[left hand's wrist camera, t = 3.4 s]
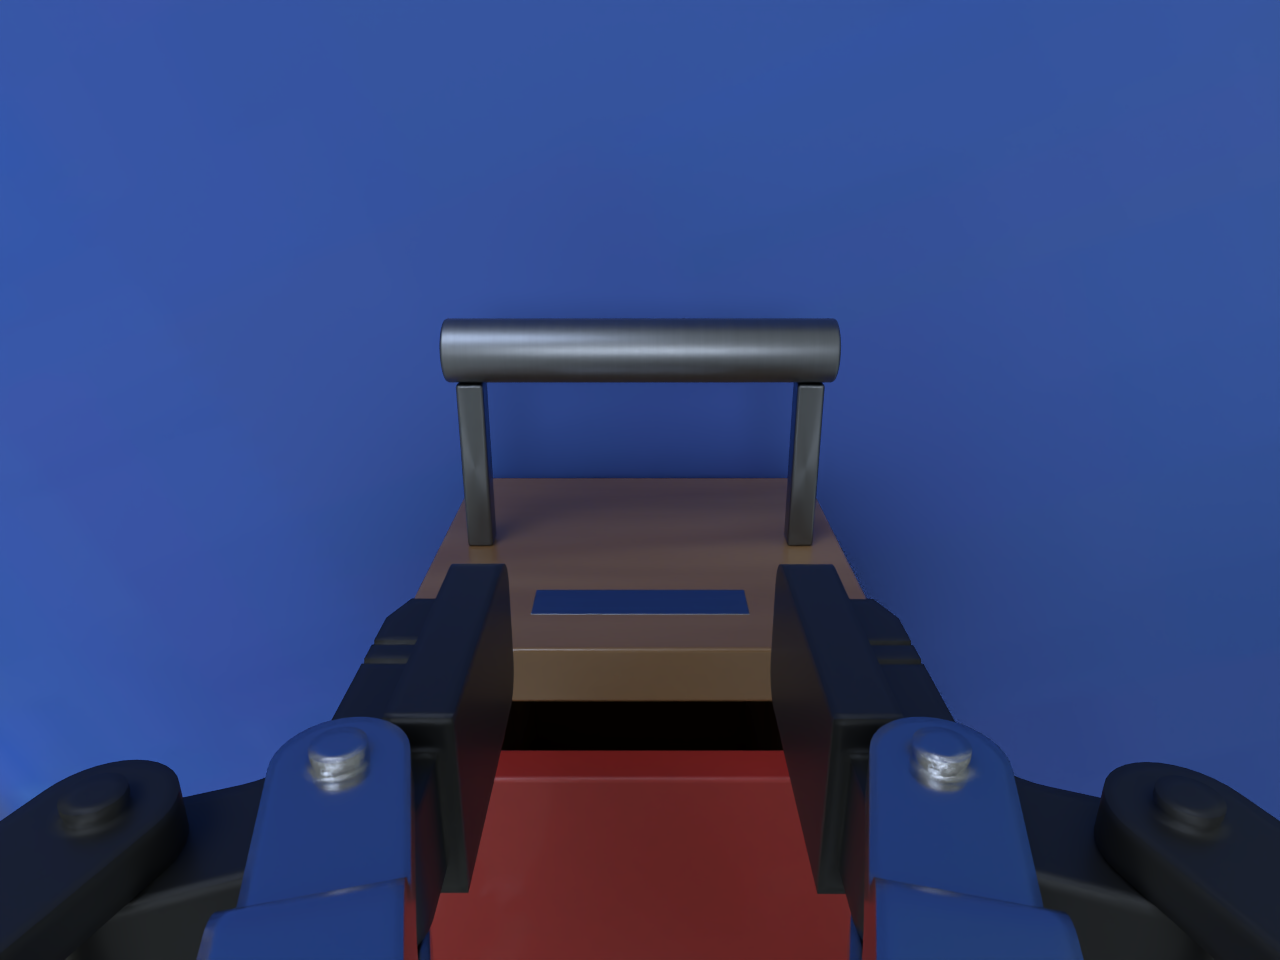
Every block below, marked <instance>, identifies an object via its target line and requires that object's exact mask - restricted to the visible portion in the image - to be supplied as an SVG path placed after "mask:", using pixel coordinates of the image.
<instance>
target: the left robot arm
mask: <svg viewBox="0 0 1280 960" xmlns="http://www.w3.org/2000/svg"><path fill="white" fill-rule="evenodd" d="M770 679H771V695H772V703H773V709H774V713H775V717H776V721H777V726H778V730H779V734H780V738H781V743H782V747H783V751H784V755H785V759H786V764H787V768H788V772H789V776H790V781H791V785H792V789H793V793H794V797H795V802H796V806H797V810H798V814H799V819H800V823H801V827H802V831H803V835H804V840H805V844H806V848H807V852H808V857H809V861H810V865H811V869H812V874H813V878H814V882H815V886H816V890H817V894H846V897H847V901H848V904H849V908H850V912H851V916H850V925H849V934H848V943H847V960H1280V821H1279V820H1277V819H1276V818H1274V817H1273V816H1271V815H1270V814H1269V813H1267V812H1266V811H1264V810H1263V809H1261V808H1260V807H1258V806H1257V805H1256V804H1254V803H1253V802H1251V801H1250V800H1248V799H1247V798H1245V797H1244V796H1243V795H1241V794H1240V793H1238V792H1236V791H1235V790H1233V789H1232V788H1230V787H1228V786H1227V785H1225V784H1223V783H1221V782H1219V781H1217V780H1215V779H1213V778H1211V777H1208V776H1206V775H1204V774H1201V773H1199V772H1196V771H1193V770H1190V769H1187V768H1183V767H1179V766H1175V765H1169V764H1163V763H1152V762H1141V763H1132V764H1127V765H1124V766H1121V767H1119V768H1116V769H1115V770H1114V771H1112V772H1111V773H1110V774H1109V775H1108V777H1107V778H1106V780H1105V784H1104V787H1103V792H1102V796H1101V798H1099V797H1094V796H1089V795H1085V794H1080V793H1076V792H1071V791H1066V790H1062V789H1057V788H1052V787H1048V786H1044V785H1040V784H1036V783H1032V782H1029V781H1027V780H1024V779H1021V778H1018V777H1016V776H1014V773H1013V769H1012V766H1011V764H1010V761H1009V759H1008V758H1007V756H1006V755H1005V753H1004V752H1003V751H1002V750H1001V749H1000V748H999V747H998V746H997V745H996V744H995V743H994V742H993V741H991V740H990V739H989V738H987V737H986V736H984V735H983V734H981V733H979V732H977V731H975V730H973V729H971V728H969V727H967V726H964V725H962V724H959V723H956V722H955V721H954V719H953V717H952V715H951V714H950V712H949V710H948V708H947V706H946V704H945V703H944V701H943V699H942V697H941V695H940V693H939V692H938V690H937V688H936V686H935V684H934V682H933V681H932V679H931V677H930V675H929V673H928V671H927V670H926V668H925V666H924V664H921V659H920V657H919V655H918V653H917V651H916V649H915V648H914V646H913V645H911V640H910V638H909V637H908V635H907V633H906V631H905V629H904V627H903V626H902V624H901V622H900V620H899V618H897V617H896V616H895V615H893V614H892V613H891V612H889V611H888V610H887V609H885V608H884V607H883V606H881V605H880V604H879V603H877V602H876V601H875V600H873V599H849V597H848V595H847V592H846V590H845V588H844V586H843V584H842V582H841V579H840V577H839V575H838V573H837V571H836V569H835V567H834V565H833V564H779V566H778V569H777V574H776V583H775V598H774V614H773V630H772V646H771V664H770ZM513 684H514V658H513V642H512V625H511V609H510V592H509V578H508V571H507V567H506V565H505V564H451V566H450V567H449V570H448V572H447V574H446V576H445V578H444V581H443V583H442V585H441V587H440V590H439V592H438V594H437V596H436V598H412V599H411V600H409V601H408V602H407V603H405V604H404V605H403V606H401V607H400V608H399V609H397V610H396V611H395V612H393V613H392V614H391V615H389V616H388V617H387V618H386V619H385V621H384V623H383V625H382V627H381V629H380V631H379V633H378V634H377V636H376V638H375V640H374V645H372V646H371V647H370V649H369V651H368V653H367V655H366V657H365V659H364V664H361V666H360V668H359V670H358V672H357V674H356V675H355V677H354V679H353V681H352V683H351V685H350V687H349V689H348V690H347V692H346V694H345V696H344V698H343V700H342V702H341V703H340V705H339V707H338V709H337V711H336V713H335V715H334V717H333V718H332V720H331V721H328V722H324V723H321V724H318V725H316V726H313V727H311V728H309V729H307V730H305V731H303V732H301V733H299V734H297V735H296V736H294V737H293V738H291V739H290V740H289V741H287V742H286V743H285V744H284V745H283V746H282V747H281V748H280V749H279V750H278V751H277V752H276V753H275V755H274V756H273V758H272V759H271V761H270V764H269V766H268V769H267V773H266V778H263V779H260V780H257V781H254V782H251V783H247V784H243V785H239V786H234V787H230V788H225V789H221V790H216V791H211V792H207V793H202V794H197V795H193V796H188V797H182V793H181V788H180V784H179V781H178V777H177V775H176V774H175V773H174V771H173V770H171V769H170V768H169V767H167V766H166V765H163V764H161V763H158V762H153V761H148V760H125V761H118V762H112V763H107V764H103V765H99V766H96V767H93V768H90V769H87V770H84V771H81V772H79V773H76V774H74V775H72V776H69V777H67V778H65V779H64V780H62V781H60V782H58V783H56V784H54V785H53V786H51V787H50V788H48V789H46V790H45V791H43V792H42V793H40V794H39V795H37V796H36V797H35V798H33V799H32V800H30V801H29V802H27V803H26V804H24V805H23V806H22V807H20V808H19V809H17V810H16V811H14V812H13V813H11V814H10V815H9V816H7V817H6V818H4V819H3V820H1V821H0V960H433V943H432V934H431V925H432V922H433V919H434V915H435V912H436V908H437V904H438V900H439V897H440V893H469V888H470V884H471V880H472V875H473V871H474V867H475V862H476V858H477V853H478V849H479V845H480V840H481V836H482V832H483V827H484V823H485V819H486V814H487V810H488V805H489V801H490V797H491V792H492V788H493V784H494V779H495V775H496V771H497V766H498V762H499V757H500V753H501V749H502V744H503V740H504V736H505V731H506V727H507V723H508V718H509V714H510V709H511V704H512V697H513Z"/></svg>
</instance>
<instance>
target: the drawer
mask: <svg viewBox="0 0 1280 960" xmlns="http://www.w3.org/2000/svg"><path fill="white" fill-rule="evenodd" d="M840 355H841V337H840V330H839V326H838V323H837V321H836V320H835V319H446V320H444V322H443V324H442V327H441V333H440V361H441V368H442V372H443V375H444V378H445V380H446V381H448V382H459V383H458V384H457V386H456V394H457V407H458V420H459V433H460V445H461V458H462V471H463V484H464V497H465V498H464V500H463V502H462V504H461V506H460V508H459V510H458V512H457V514H456V516H455V518H454V520H453V522H452V524H451V526H450V528H449V530H448V532H447V534H446V536H445V538H444V540H443V542H442V544H441V546H440V548H439V550H438V552H437V554H436V556H435V558H434V560H433V562H432V564H431V566H430V568H429V570H428V572H427V574H426V576H425V578H424V580H423V582H422V584H421V586H420V588H419V590H418V592H417V594H416V596H415V598H436V596H437V594H438V592H439V590H440V587H441V585H442V583H443V581H444V578H445V576H446V574H447V572H448V570H449V567H450V566H451V564H505V565H506V567H507V571H508V578H509V592H510V609H511V625H512V642H513V658H514V684H513V697H512V704H511V709H510V714H509V718H508V723H507V727H506V731H505V736H504V740H503V744H502V749H501V750H783V747H782V743H781V738H780V734H779V730H778V726H777V721H776V717H775V713H774V709H773V703H772V695H771V679H770V664H771V646H772V630H773V614H774V598H775V583H776V574H777V569H778V566H779V564H833V565H834V567H835V569H836V571H837V573H838V575H839V577H840V579H841V582H842V584H843V586H844V588H845V590H846V592H847V595H848V597H849V599H866V597H865V595H864V593H863V591H862V589H861V587H860V585H859V583H858V581H857V579H856V577H855V575H854V573H853V571H852V569H851V567H850V565H849V563H848V561H847V559H846V557H845V555H844V553H843V551H842V549H841V547H840V545H839V543H838V541H837V539H836V537H835V535H834V533H833V531H832V529H831V527H830V525H829V523H828V521H827V519H826V517H825V515H824V513H823V511H822V509H821V507H820V505H819V503H818V501H817V499H816V491H817V478H818V466H819V453H820V440H821V427H822V414H823V401H824V388H825V387H824V384H823V383H822V382H833V381H834V380H835V379H836V376H837V374H838V370H839V365H840ZM487 382H794V387H793V402H792V418H791V433H790V449H789V465H788V478H493V473H492V457H491V442H490V426H489V411H488V395H487Z"/></svg>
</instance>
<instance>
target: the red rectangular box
mask: <svg viewBox="0 0 1280 960" xmlns="http://www.w3.org/2000/svg"><path fill="white" fill-rule="evenodd" d="M850 916H851V912H850V908H849V904H848V901H847V897H846V894H817V890H816V886H815V882H814V878H813V874H812V869H811V865H810V861H809V857H808V852H807V848H806V844H805V840H804V835H803V831H802V827H801V823H800V819H799V814H798V810H797V806H796V802H795V797H794V793H793V789H792V785H791V781H790V776H789V772H788V768H787V764H786V759H785V755H784V751H783V750H501V753H500V757H499V762H498V766H497V771H496V775H495V779H494V784H493V788H492V792H491V797H490V801H489V805H488V810H487V814H486V819H485V823H484V827H483V832H482V836H481V840H480V845H479V849H478V853H477V858H476V862H475V867H474V871H473V875H472V880H471V884H470V888H469V893H440V897H439V900H438V904H437V908H436V912H435V915H434V919H433V922H432V925H431V934H432V943H433V960H847V943H848V934H849V925H850Z"/></svg>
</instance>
